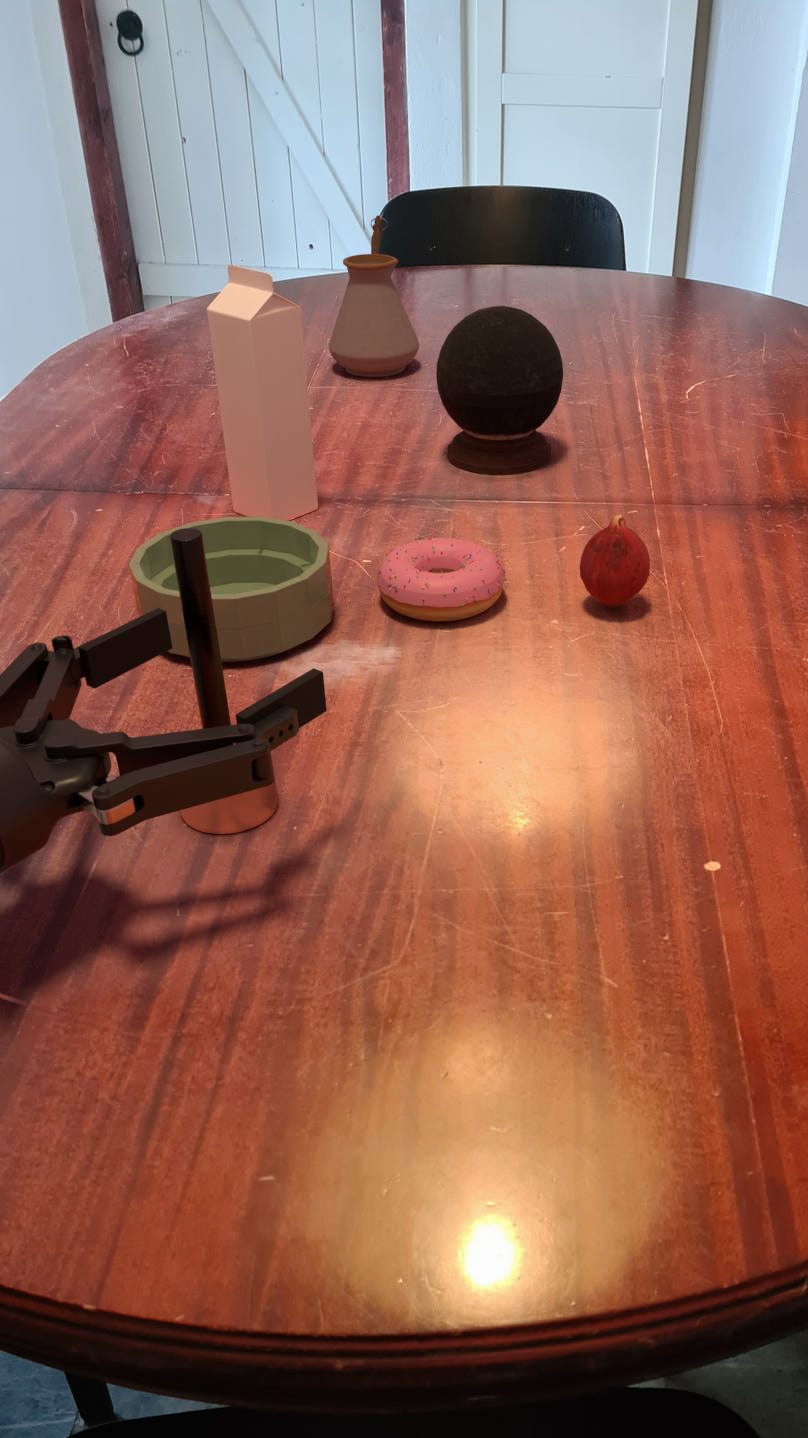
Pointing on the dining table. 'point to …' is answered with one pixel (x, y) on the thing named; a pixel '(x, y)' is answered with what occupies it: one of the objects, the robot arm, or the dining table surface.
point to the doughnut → (440, 579)
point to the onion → (615, 564)
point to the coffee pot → (372, 317)
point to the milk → (263, 397)
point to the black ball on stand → (499, 390)
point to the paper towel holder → (211, 688)
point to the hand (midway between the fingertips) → (240, 657)
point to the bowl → (244, 584)
